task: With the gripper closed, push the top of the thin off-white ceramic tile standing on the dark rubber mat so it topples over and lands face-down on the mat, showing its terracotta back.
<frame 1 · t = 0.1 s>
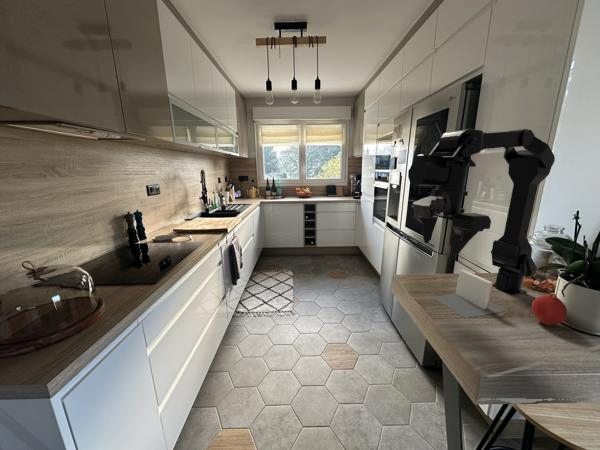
hand: (440, 248, 64), 15 cm above the table, tool pointing down, fingers open, 9 cm apart
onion: (544, 325, 58), on the table
tile: (470, 300, 67), resting on mat
mat: (468, 304, 65), on the table
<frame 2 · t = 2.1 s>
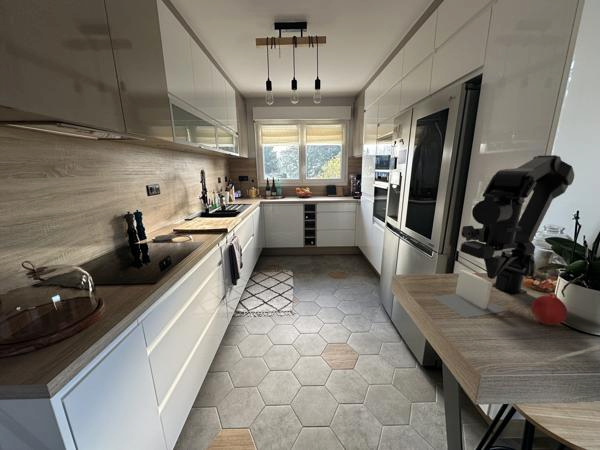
hand: (490, 278, 67), 6 cm above the table, tool pointing down, fingers closed
nothing on the table moved.
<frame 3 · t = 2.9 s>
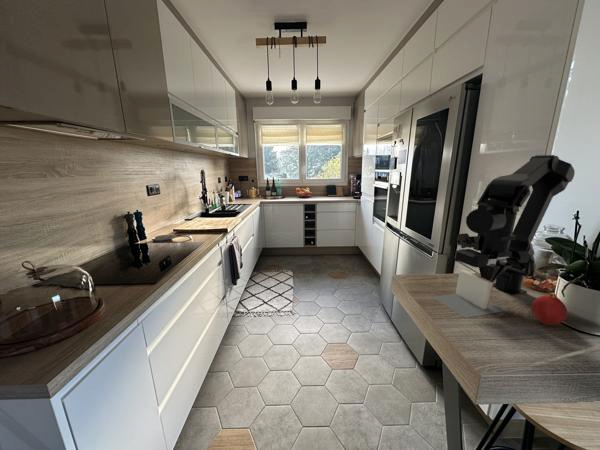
hand: (485, 286, 67), 4 cm above the table, tool pointing down, fingers closed
nothing on the table moved.
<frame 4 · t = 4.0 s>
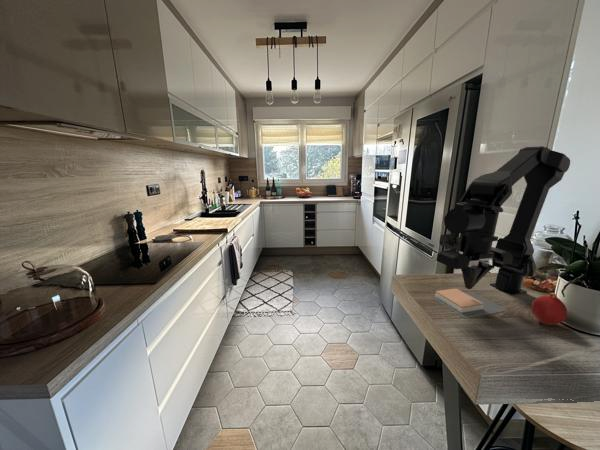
hand: (468, 288, 65), 4 cm above the table, tool pointing down, fingers closed
tile: (468, 298, 66), point 1 cm above the table, tilted 90°, touching mat
everything else where it was.
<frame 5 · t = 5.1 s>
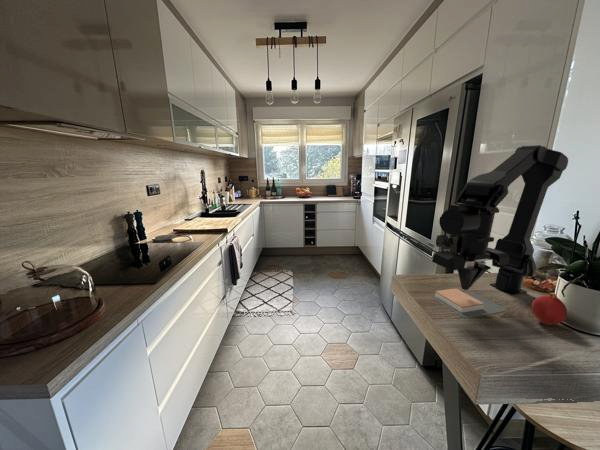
hand: (464, 289, 65), 4 cm above the table, tool pointing down, fingers closed
nothing on the table moved.
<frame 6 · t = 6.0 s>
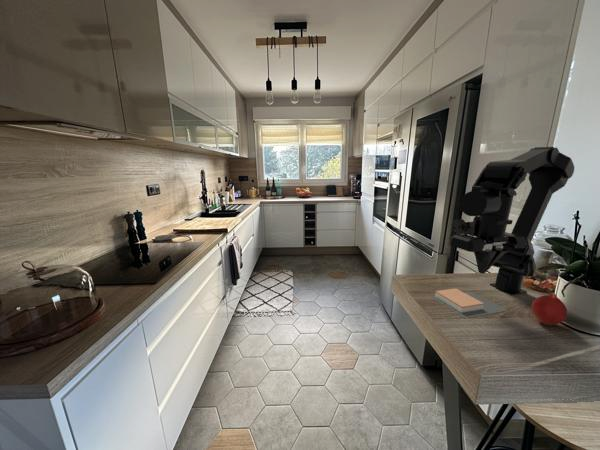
hand: (481, 273, 66), 8 cm above the table, tool pointing down, fingers closed
nothing on the table moved.
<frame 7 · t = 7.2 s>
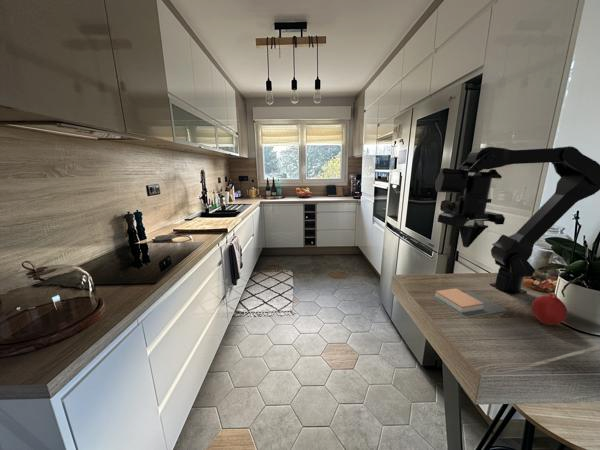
hand: (465, 247, 74), 12 cm above the table, tool pointing down, fingers closed
nothing on the table moved.
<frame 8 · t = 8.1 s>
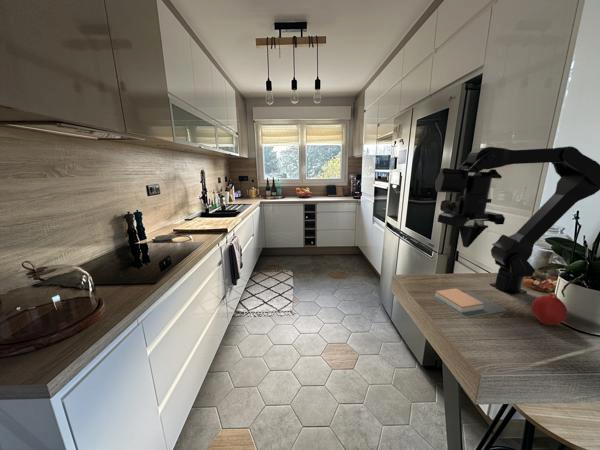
hand: (465, 247, 74), 12 cm above the table, tool pointing down, fingers closed
nothing on the table moved.
at the end: tile tilted 90°; tile inside the target area (1.9 cm from its centre), point 1.2 cm above the table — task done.
